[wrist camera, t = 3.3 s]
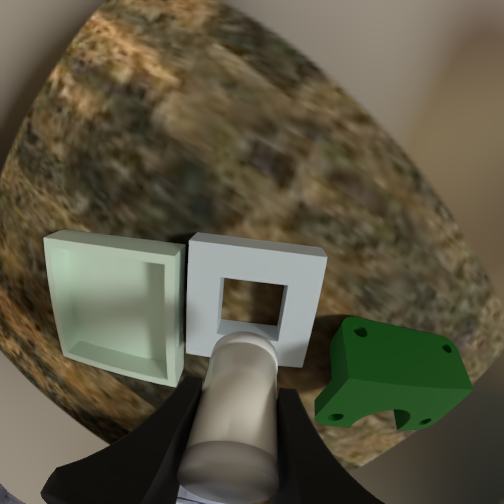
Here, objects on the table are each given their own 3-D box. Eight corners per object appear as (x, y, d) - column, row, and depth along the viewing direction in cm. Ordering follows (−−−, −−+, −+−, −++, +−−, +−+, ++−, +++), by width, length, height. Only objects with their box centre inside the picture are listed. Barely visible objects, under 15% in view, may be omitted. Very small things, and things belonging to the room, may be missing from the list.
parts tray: (183, 367, 22) (176, 387, 20) (77, 341, 22) (63, 356, 20) (185, 244, 19) (174, 256, 17) (63, 229, 19) (43, 237, 17)
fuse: (272, 385, 14) (270, 507, 7) (210, 377, 14) (180, 495, 7) (282, 335, 13) (288, 467, 6) (213, 326, 13) (173, 452, 6)
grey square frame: (300, 351, 21) (302, 367, 19) (192, 337, 21) (186, 353, 19) (321, 247, 19) (327, 257, 17) (197, 232, 19) (189, 240, 17)
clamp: (327, 338, 26) (287, 411, 19) (356, 289, 23) (322, 363, 15) (430, 391, 22) (418, 471, 15) (470, 350, 19) (473, 435, 12)
